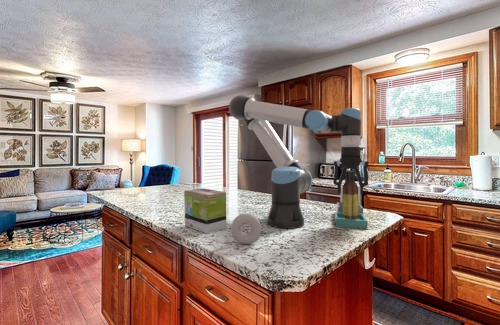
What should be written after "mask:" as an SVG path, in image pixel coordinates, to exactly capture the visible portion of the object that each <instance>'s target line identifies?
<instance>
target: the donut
mask: <svg viewBox="0 0 500 325" xmlns="http://www.w3.org/2000/svg"><path fill="white" fill-rule="evenodd" d="M244 225H248V226H249V227H250V232H248V233H245V232H243V231H242V227H243V226H244ZM230 226H231V227H230V231H231V235H232V237H233V239H234V240H235V241H236V242H237V243H240V244H242V245H251V244H254V243H255V242H256V241H257V240H259V238H260V237H261V234H262V229H263V228H262V224H261V222H260V220H259V218H257V217H256V216H255V215H253V214H250V213H241V214H239V215H238V216H236V217H235V218H234V219H233V221H232V223H231V224H230Z"/></svg>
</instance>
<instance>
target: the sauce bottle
mask: <svg viewBox="0 0 500 325" xmlns="http://www.w3.org/2000/svg"><path fill="white" fill-rule="evenodd" d="M344 178H345V179H344V183H343V185H342V186H343V202H341V203H342V206H343V217H344V218H346V219H351V220H354V219H358V204H359V203H358V186H359V185H358V184H357V183H356V173H355V170H346V173H345V175H344Z"/></svg>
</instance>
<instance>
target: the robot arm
mask: <svg viewBox="0 0 500 325" xmlns="http://www.w3.org/2000/svg"><path fill="white" fill-rule="evenodd" d="M228 110H229V113H230V115H231V116H232V118H234V119H236V120H238V121H243V123H244V125H245V126H246V127H247V128H248V129H249V130H251V131H253V132H254V133H255V136H256V137H257V138H258V140H259V142H260V143H261V144H262V146H263V148H264V150H265V151H266V153H267V154H268V156H269V157H270V158H271V161H272V162H273V164H274V165H275V167H276V168H274V169H272V171H271V177H270V180H271V206H270V209H269V212H268V214H267V220H266V222H267V224H268V226H270V227H273V228H278V229H279V228H280V229H297V228H300V227H302V226H304V225H305V219H304V214H303V211H302V208H301V204H300V201H301V200H300V198H301V197H300V196H301V194H305V193H306V192H307V191H309V189H310V188H311V186H312V183H313V175H312V174H311V172H310V170H308V169H306V168H304V167H303V165H302V164H301V162H300V161H299V160H298V159H294V158H293V156H292V155H291V154H290V152H289V150H288V148H287V147H286V146H285V144H284V143H283V141H282V140H281V139H280V137H279V135H278V134H277V132H276V131H275V129H274V128H273V127H272V125H271V123H275V124H280V125H281V124H282V125H285V126H291V127H295V128H296V127H297V128H301V129H306V130H311V131H312V132H313V133H314V134H320V135H321V134H333V133H338V134H339V133H341V134H340V135H341V136H340V137H341V138H340V146H341V148H340V158H339V159H338V160H334V161H333V166H334V169H333V180H332V181H333V183H332V184H333V185H335V186H337V194H338V195H339V199H340V202H339V203H342V202H343V185H342V184H343V181H344V178H345V173H346V171H348V170H349V169H350V170H351V169H352V170H353V171H355V177H356V179H357V182H358V185H357V186H358V204H361V196H363V194H364V187H367V186H368V185H369V175H368V167H369V166H368V165H369V161H367V160H366V161H365V160H363V159H362V158H361V152H362V151H361V149H362V148H361V144H362V143H361V142H362V141H361V140H362V139H361V138H362V137H361V136H362V134H361V132H362V111H361V109H359V108H357V107H356V108H355V107H348V108H344V109H342V110H341V112H340V114H327V113H325V112H324V111H322V110H319V109H315V110H313V109H307V108H306V109H305V108H301V107H295V106H289V105H288V106H287V105H282V104H276V103H270V102H263V101H260V100H258V99H256V98H253V97H249V96H246V95H243V94H242V95H241V94H239V95H236V96H234V97H232V98H231V100H230V102H229V105H228ZM340 164H341V165H342V166H343V168H342V170H341V174H340V177H339V178H338V170H339V166H340ZM360 164H361V165H362V168H363V169H362V171H363V172H362V173H363V179H362V177H361V174H360V173H361V172H360V170H359V166H360Z"/></svg>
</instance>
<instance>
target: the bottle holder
mask: <svg viewBox="0 0 500 325" xmlns="http://www.w3.org/2000/svg"><path fill="white" fill-rule="evenodd" d="M336 212H340V213H343V206H342V202H336ZM358 214H363V215H364V207H363V206H362V204H361V203H358Z"/></svg>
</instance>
